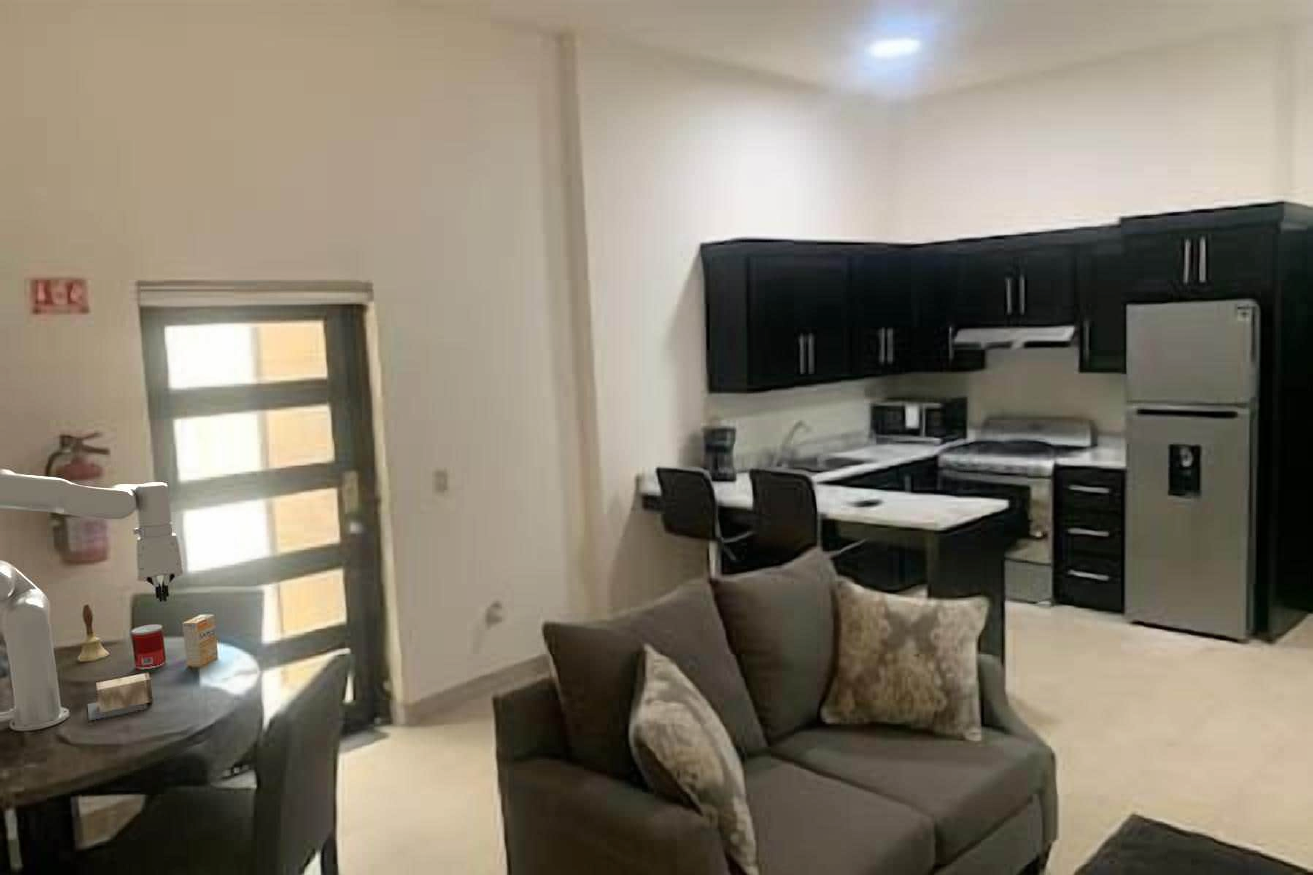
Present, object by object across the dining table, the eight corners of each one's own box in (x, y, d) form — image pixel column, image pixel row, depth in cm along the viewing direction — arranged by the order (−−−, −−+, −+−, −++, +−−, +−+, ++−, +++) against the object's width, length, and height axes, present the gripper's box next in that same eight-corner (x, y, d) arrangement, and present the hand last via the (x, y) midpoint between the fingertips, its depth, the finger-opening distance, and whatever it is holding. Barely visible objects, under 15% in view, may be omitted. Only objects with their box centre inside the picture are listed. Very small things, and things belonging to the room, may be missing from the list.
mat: (89, 721, 253) (88, 719, 252) (87, 706, 263) (87, 704, 263) (147, 708, 259) (147, 706, 259) (143, 694, 269) (143, 692, 269)
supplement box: (201, 667, 288) (196, 622, 287) (186, 667, 289) (181, 622, 288) (219, 657, 296) (214, 613, 295) (204, 657, 297) (199, 613, 296)
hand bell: (70, 661, 300) (63, 608, 298) (91, 651, 308) (85, 600, 306) (94, 662, 298) (88, 609, 296) (115, 652, 306) (109, 601, 304)
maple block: (152, 701, 262) (100, 712, 256) (150, 694, 267) (99, 705, 261) (150, 679, 262) (97, 689, 256) (148, 672, 267) (96, 682, 261)
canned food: (171, 662, 294) (167, 626, 292) (145, 672, 287) (141, 634, 286) (156, 659, 298) (152, 622, 296) (129, 667, 291) (125, 630, 290)
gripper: (124, 537, 256) (131, 608, 258) (189, 529, 263) (195, 598, 265) (122, 532, 262) (129, 601, 265) (186, 524, 270) (192, 592, 272)
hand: (162, 600), depth 265 cm, fingers closed
